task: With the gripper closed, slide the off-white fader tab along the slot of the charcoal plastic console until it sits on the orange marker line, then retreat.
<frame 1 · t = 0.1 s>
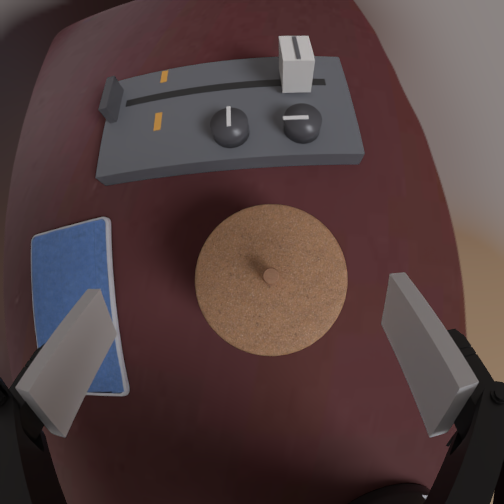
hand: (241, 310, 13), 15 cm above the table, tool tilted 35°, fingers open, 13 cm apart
lidded jar: (271, 286, 29), on the table
console: (224, 116, 32), on the table
tablet computer: (75, 310, 30), on the table
fader tab: (295, 63, 27), point 5 cm above the table, slide at -8.0 cm
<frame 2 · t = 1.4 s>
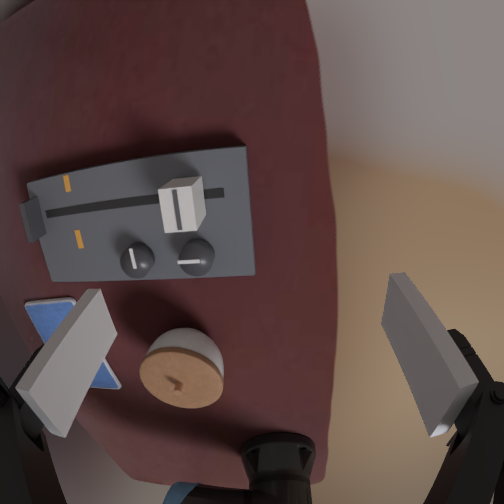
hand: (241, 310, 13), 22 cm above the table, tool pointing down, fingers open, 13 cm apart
lidded jar: (190, 343, 42), on the table
console: (133, 218, 35), on the table
tablet computer: (73, 344, 45), on the table
fader tab: (183, 203, 28), point 5 cm above the table, slide at -8.0 cm
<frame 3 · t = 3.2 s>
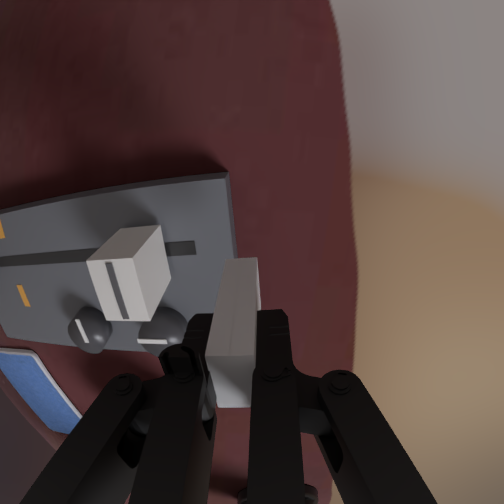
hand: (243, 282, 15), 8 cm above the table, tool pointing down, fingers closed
console: (83, 270, 25), on the table
tablet computer: (45, 393, 35), on the table
fader tab: (132, 271, 18), point 5 cm above the table, slide at -8.0 cm
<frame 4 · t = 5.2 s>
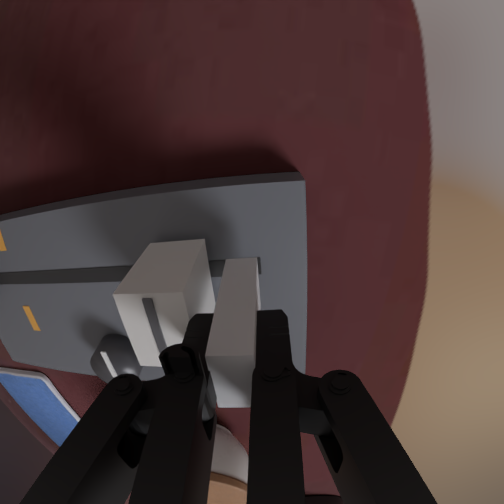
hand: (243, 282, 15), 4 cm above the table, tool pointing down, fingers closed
lidded jar: (204, 433, 29), on the table
console: (105, 289, 21), on the table
tablet computer: (57, 415, 31), on the table
fader tab: (172, 300, 14), point 5 cm above the table, slide at -7.3 cm, touching gripper
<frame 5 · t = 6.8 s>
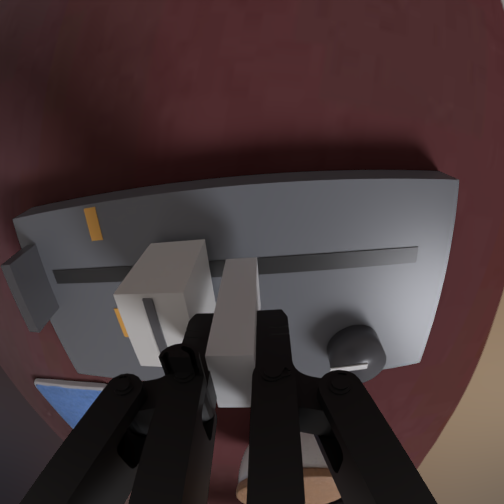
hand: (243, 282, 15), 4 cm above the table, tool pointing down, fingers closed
lidded jar: (291, 431, 28), on the table
console: (228, 284, 20), on the table
tablet computer: (110, 427, 31), on the table
fader tab: (172, 301, 14), point 5 cm above the table, slide at 1.9 cm, touching gripper
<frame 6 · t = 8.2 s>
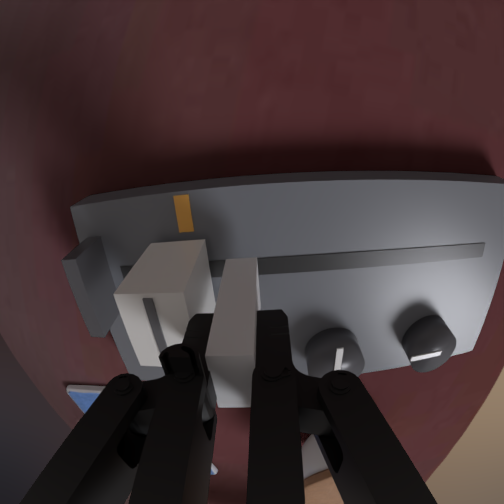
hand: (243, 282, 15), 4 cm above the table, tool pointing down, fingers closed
lidded jar: (341, 426, 28), on the table
console: (313, 279, 20), on the table
tablet computer: (148, 432, 30), on the table
fader tab: (172, 301, 14), point 5 cm above the table, slide at 7.5 cm, touching gripper
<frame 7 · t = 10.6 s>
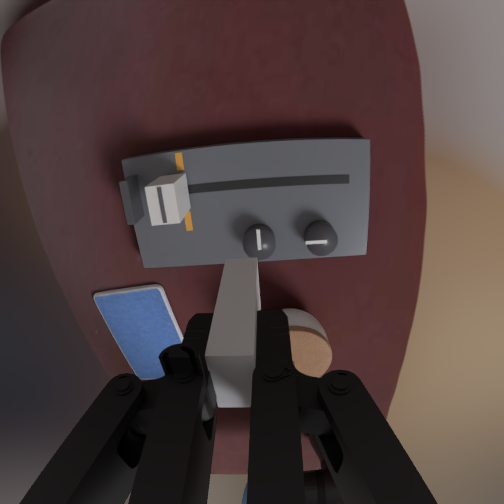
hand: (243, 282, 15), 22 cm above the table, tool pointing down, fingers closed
lidded jar: (287, 324, 45), on the table
console: (248, 200, 36), on the table
tablet computer: (149, 335, 47), on the table
fader tab: (169, 198, 31), point 5 cm above the table, slide at 7.8 cm
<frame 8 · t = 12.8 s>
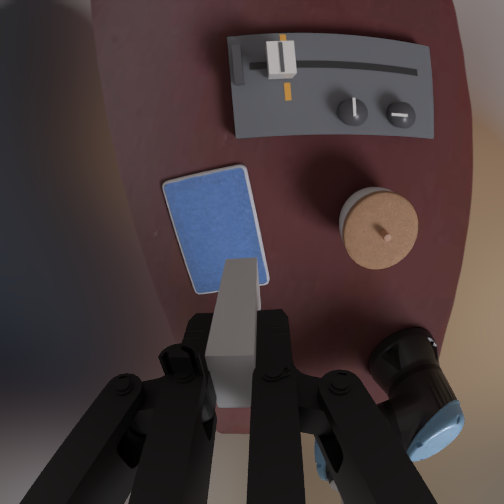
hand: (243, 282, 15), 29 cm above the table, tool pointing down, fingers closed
lidded jar: (364, 213, 44), on the table
console: (336, 84, 36), on the table
tablet computer: (218, 232, 47), on the table
fader tab: (280, 60, 30), point 5 cm above the table, slide at 7.8 cm
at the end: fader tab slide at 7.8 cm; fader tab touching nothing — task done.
